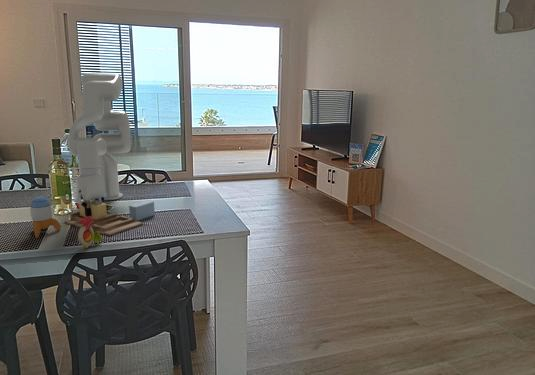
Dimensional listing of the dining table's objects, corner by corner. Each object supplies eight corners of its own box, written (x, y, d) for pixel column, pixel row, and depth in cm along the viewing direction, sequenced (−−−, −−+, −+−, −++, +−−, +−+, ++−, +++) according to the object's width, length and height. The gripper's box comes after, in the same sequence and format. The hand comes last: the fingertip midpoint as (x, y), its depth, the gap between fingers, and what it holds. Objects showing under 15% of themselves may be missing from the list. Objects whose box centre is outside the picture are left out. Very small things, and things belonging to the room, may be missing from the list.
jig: (64, 222, 172) (63, 215, 171) (98, 213, 185) (97, 206, 184) (109, 236, 157) (109, 228, 157) (143, 224, 170) (142, 217, 170)
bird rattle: (95, 254, 146) (106, 236, 153) (85, 230, 139) (97, 212, 146) (78, 253, 147) (90, 235, 154) (67, 229, 140) (80, 212, 147)
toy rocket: (40, 241, 154) (25, 203, 150) (25, 240, 160) (10, 203, 156) (65, 229, 162) (51, 193, 158) (50, 229, 168) (36, 193, 164)
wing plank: (130, 219, 177) (129, 205, 176) (148, 213, 186) (147, 200, 184) (136, 221, 175) (135, 207, 174) (154, 215, 183) (153, 201, 182)
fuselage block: (80, 215, 175) (78, 198, 174) (88, 213, 179) (86, 196, 177) (98, 220, 169) (97, 203, 167) (107, 218, 172) (105, 201, 171)
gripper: (101, 167, 178) (104, 208, 182) (64, 173, 164) (69, 218, 169) (113, 169, 174) (116, 211, 179) (76, 176, 160) (81, 222, 165)
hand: (93, 214), depth 174 cm, fingers closed on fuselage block, 3 cm apart
